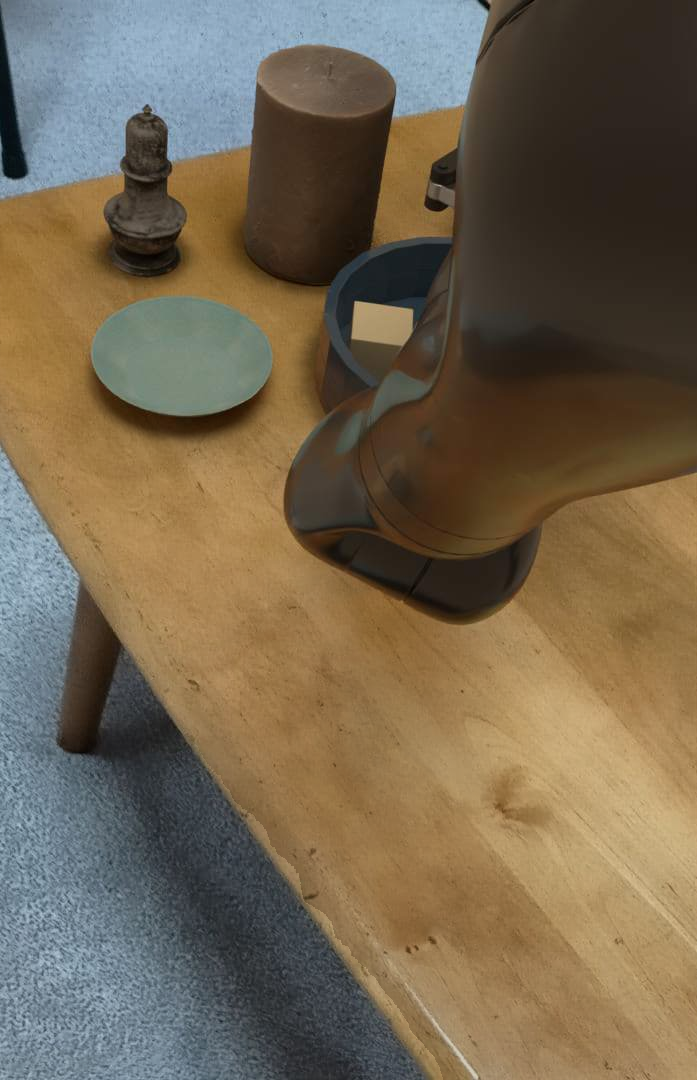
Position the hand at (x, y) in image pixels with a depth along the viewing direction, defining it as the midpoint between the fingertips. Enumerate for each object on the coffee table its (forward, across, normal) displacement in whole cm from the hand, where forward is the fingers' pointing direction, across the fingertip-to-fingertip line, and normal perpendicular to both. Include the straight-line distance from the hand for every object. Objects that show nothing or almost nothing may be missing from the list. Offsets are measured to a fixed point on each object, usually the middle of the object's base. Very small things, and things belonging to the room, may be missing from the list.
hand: (581, 139), depth 73 cm
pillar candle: (+7, +18, +19) cm, 27 cm away
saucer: (-11, +20, +19) cm, 30 cm away
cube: (-4, +9, +18) cm, 20 cm away
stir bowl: (-3, +3, +19) cm, 19 cm away
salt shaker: (0, +28, +19) cm, 34 cm away
